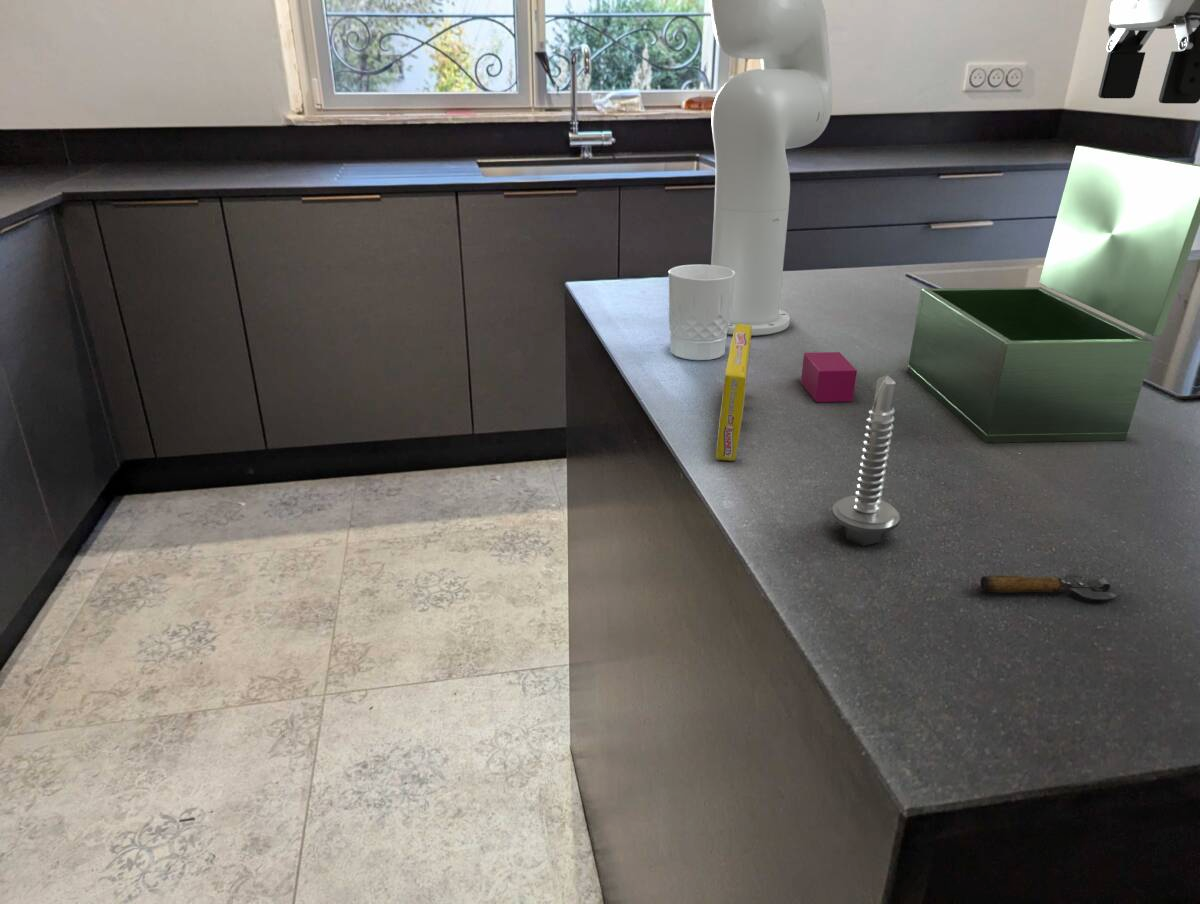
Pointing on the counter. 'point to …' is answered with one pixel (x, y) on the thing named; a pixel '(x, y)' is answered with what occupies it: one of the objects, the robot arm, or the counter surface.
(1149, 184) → the bin lid
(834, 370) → the block
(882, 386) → the screw
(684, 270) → the white cup
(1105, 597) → the can opener
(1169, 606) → the counter surface
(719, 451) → the candy box
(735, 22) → the robot arm
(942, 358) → the bin
